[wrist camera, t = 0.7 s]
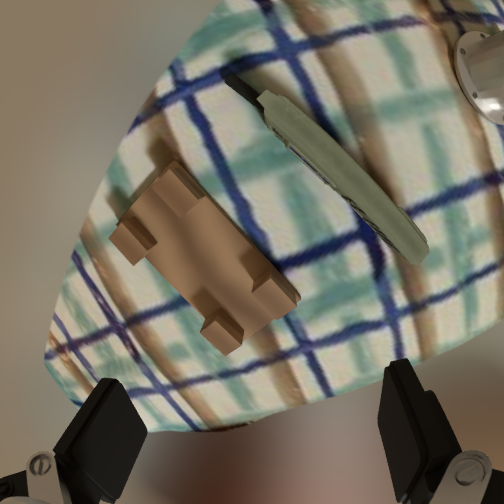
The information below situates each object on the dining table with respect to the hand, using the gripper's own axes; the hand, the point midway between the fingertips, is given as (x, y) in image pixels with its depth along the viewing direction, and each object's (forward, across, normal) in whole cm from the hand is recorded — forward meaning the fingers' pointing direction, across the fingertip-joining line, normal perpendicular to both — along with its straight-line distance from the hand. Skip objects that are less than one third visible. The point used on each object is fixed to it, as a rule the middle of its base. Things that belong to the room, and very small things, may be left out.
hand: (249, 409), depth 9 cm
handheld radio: (+24, -6, -7) cm, 26 cm away
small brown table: (+24, +7, +2) cm, 25 cm away
